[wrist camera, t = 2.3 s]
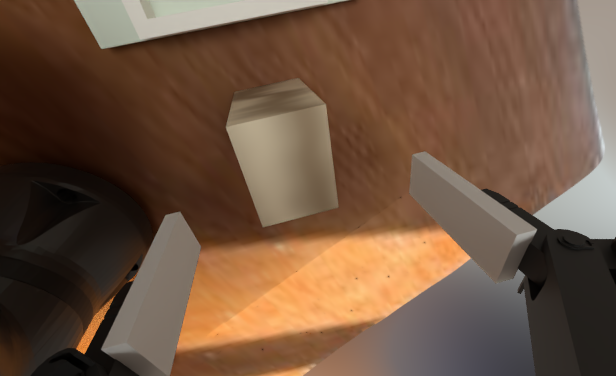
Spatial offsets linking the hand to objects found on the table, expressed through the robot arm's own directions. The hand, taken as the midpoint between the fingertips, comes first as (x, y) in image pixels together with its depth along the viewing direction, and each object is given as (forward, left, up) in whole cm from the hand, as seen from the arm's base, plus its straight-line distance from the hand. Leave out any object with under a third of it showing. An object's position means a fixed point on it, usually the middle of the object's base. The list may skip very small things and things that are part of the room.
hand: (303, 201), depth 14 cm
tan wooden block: (0, 0, -13) cm, 13 cm away
